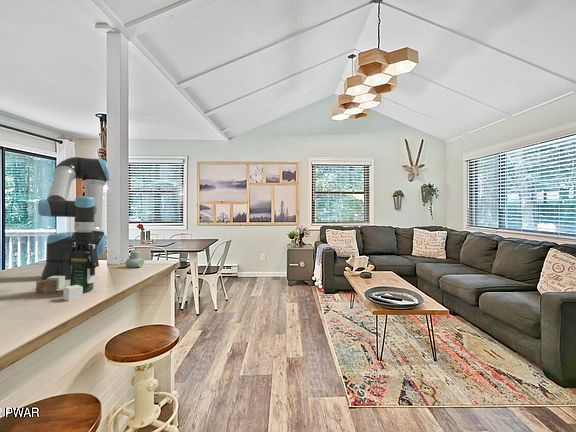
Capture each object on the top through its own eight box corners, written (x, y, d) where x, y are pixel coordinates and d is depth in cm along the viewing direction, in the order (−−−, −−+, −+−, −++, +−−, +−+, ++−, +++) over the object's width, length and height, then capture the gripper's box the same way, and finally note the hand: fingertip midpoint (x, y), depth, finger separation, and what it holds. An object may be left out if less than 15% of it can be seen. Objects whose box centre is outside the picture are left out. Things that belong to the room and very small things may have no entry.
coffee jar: (86, 293, 143) (88, 250, 143) (66, 293, 142) (68, 250, 141) (96, 288, 152) (97, 248, 152) (77, 288, 151) (79, 247, 151)
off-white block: (63, 299, 134) (63, 286, 134) (76, 296, 138) (77, 284, 138) (68, 301, 131) (69, 288, 131) (82, 299, 135) (82, 286, 135)
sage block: (46, 289, 148) (47, 277, 148) (53, 286, 153) (53, 275, 153) (58, 289, 149) (58, 278, 149) (64, 286, 154) (65, 275, 154)
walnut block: (36, 293, 141) (36, 281, 141) (46, 290, 146) (46, 279, 146) (46, 294, 140) (46, 282, 140) (56, 291, 145) (56, 280, 145)
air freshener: (133, 265, 215) (133, 250, 215) (145, 266, 214) (146, 250, 214) (123, 268, 204) (124, 252, 204) (136, 269, 204) (136, 252, 203)
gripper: (58, 230, 148) (57, 279, 148) (93, 233, 139) (91, 286, 139) (75, 229, 155) (73, 277, 155) (109, 232, 146) (107, 282, 146)
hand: (82, 281), depth 147 cm, fingers open, 10 cm apart
